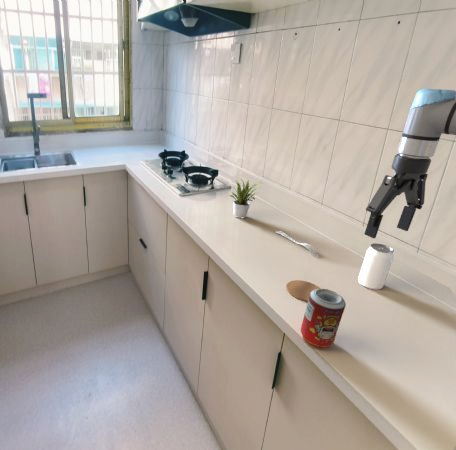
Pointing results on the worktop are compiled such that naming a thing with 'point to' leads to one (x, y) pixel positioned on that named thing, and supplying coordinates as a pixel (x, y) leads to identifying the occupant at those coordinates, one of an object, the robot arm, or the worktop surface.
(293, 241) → the fork
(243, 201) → the house plant
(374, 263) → the can
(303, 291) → the cork coaster
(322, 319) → the soda can
